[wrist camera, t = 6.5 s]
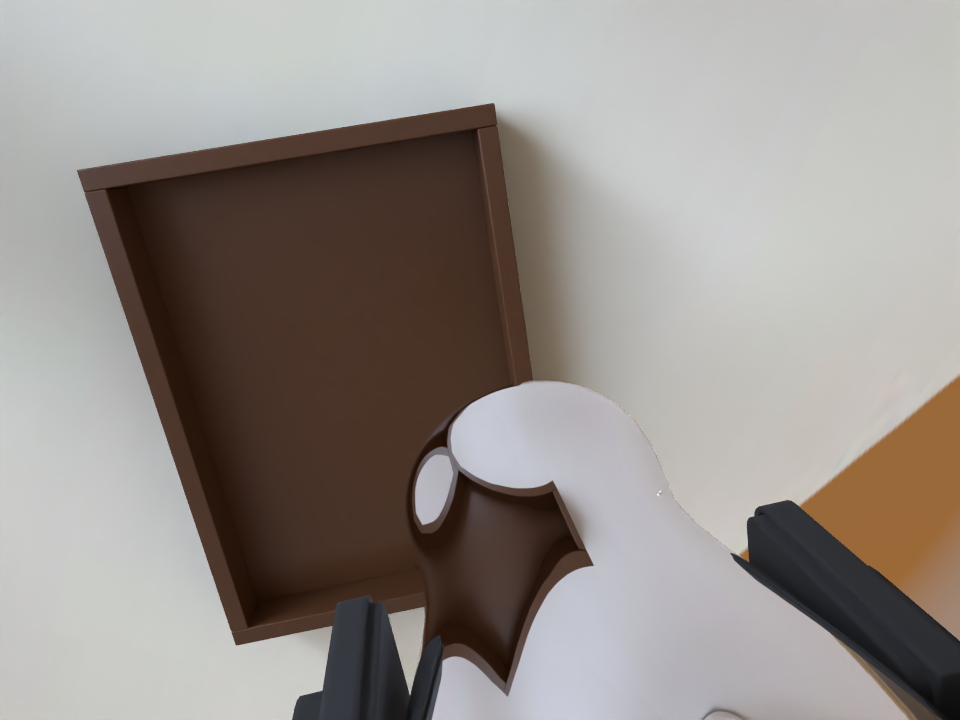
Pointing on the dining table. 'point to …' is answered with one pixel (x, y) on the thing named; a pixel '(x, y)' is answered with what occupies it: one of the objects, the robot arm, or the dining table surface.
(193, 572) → the dining table surface
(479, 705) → the beer glass
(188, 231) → the tray
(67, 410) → the dining table surface
